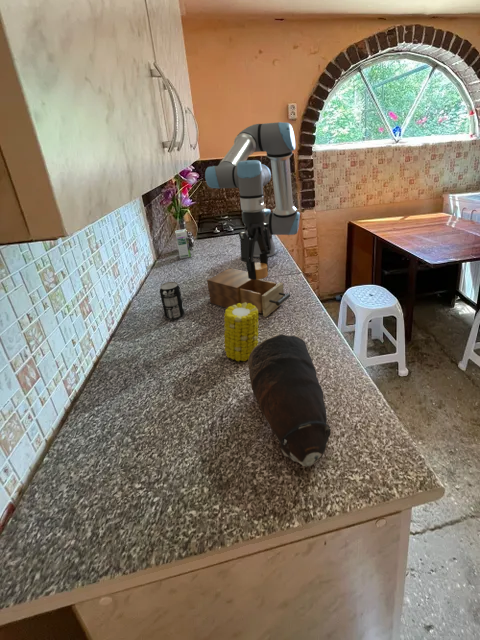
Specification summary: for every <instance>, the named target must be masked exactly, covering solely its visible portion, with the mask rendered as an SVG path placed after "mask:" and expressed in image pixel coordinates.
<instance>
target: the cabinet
mask: <svg viewBox="0 0 480 640" xmlns="http://www.w3.org/2000/svg"><path fill="white" fill-rule="evenodd" d="M252 280H253V279H249V278H248V271H247V270H246V271H245V270H241V269H236V268H232V267H229V268H227V269H225V270H223V271H221V272H219V273H217V274H215V275H213V276H212V277H210V278H208V279H206V282H207V289H208V297H209V302H210V304H213V305H215V306H216V305H217V306H220V307H222V308H226V309H227V308H228V307H230V306H233V305H237V304H238V303H240V296H239V288H241V287H243V286H244V285H246V284H248V283H249V282H251V281H252Z"/></svg>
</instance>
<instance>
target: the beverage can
mask: <svg viewBox="0 0 480 640" xmlns="http://www.w3.org/2000/svg"><path fill="white" fill-rule="evenodd" d="M159 295H160V300H161V304H162V309H163V314H164V317H165V318H166V319H167V320H172V321H173V320H177V319H178V320H179V319H180V318H182V317H183V315H184V314H185V308H184V302H183V297H182V293H181V287H180V285H179V284H178V282H177V281H167V282H164V283H162V284H161V285H160V286H159Z"/></svg>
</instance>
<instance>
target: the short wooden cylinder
mask: <svg viewBox="0 0 480 640" xmlns="http://www.w3.org/2000/svg"><path fill="white" fill-rule="evenodd" d="M255 272H256V279H261V280H264V279H266V278H267V277H268V276H269V269H268V270H267V264H265V263H260V262H255Z"/></svg>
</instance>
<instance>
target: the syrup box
mask: <svg viewBox="0 0 480 640" xmlns="http://www.w3.org/2000/svg"><path fill="white" fill-rule="evenodd" d="M174 234H175V240H176V244H177V245H176V246H177V250H178V255H179V259H182V260H183V259H186V258H191V257H192V255H191V250H190V249H191V248H190V244H189V238H188V232H187V229H185V228H184V229H178V230H175V231H174Z"/></svg>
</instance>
